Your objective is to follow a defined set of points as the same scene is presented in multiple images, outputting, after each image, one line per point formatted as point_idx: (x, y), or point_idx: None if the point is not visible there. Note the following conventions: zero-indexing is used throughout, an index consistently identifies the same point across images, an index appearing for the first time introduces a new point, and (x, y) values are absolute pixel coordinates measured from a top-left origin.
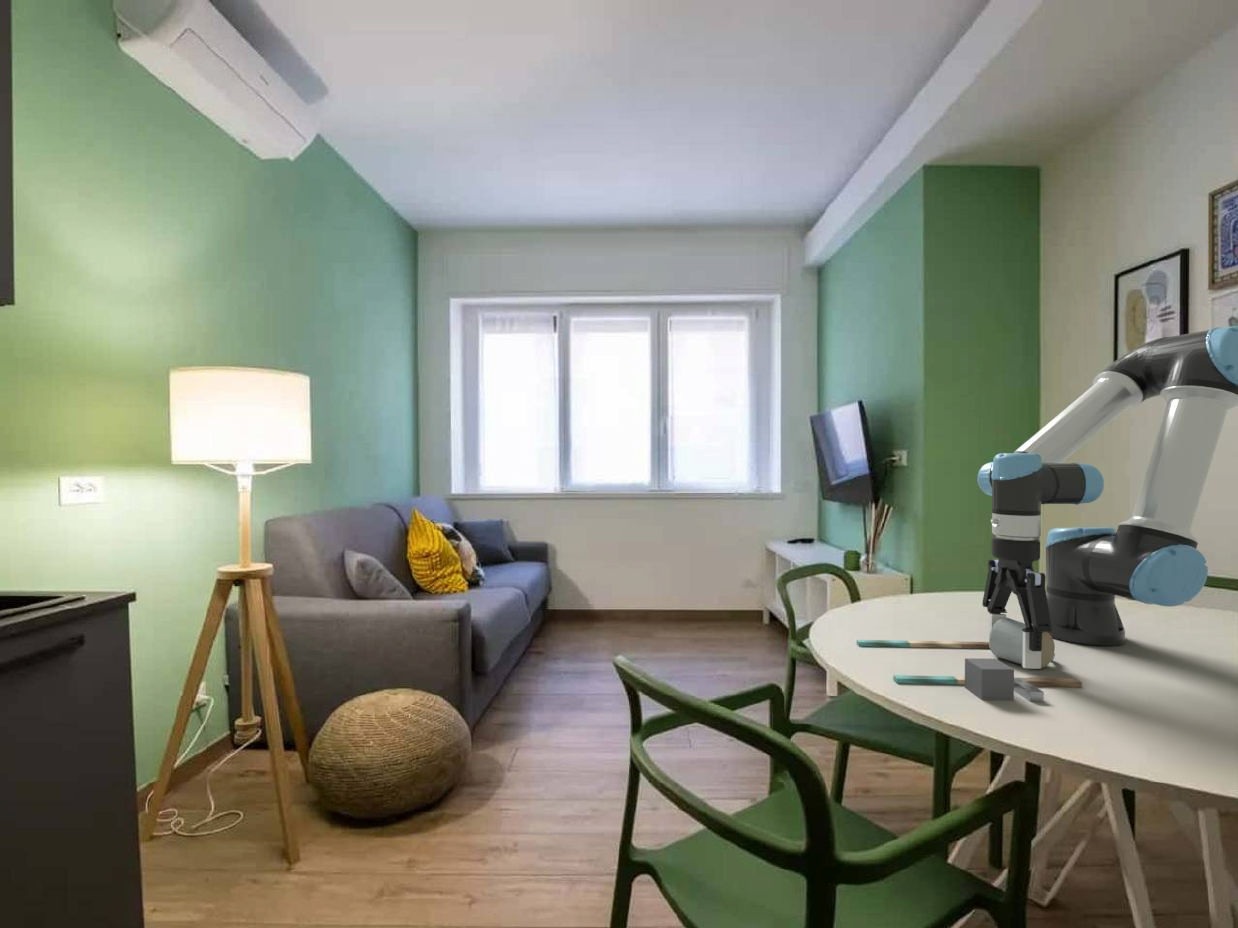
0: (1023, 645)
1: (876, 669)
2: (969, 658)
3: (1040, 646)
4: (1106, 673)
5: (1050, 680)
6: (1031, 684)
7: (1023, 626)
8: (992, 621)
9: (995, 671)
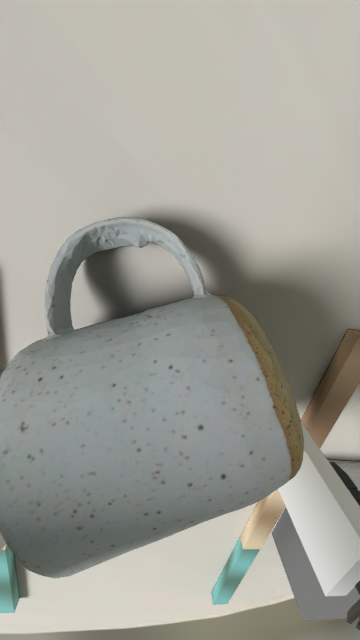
0: (290, 504)
1: (161, 598)
2: (307, 616)
3: (352, 488)
4: (333, 102)
5: (335, 407)
6: (357, 480)
7: (200, 516)
8: (5, 542)
9: None
